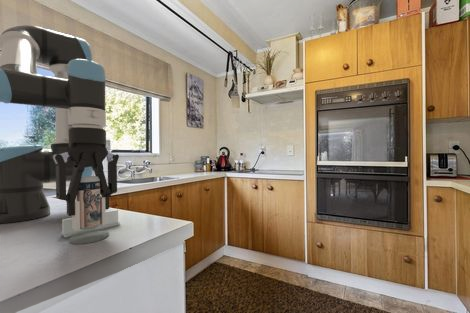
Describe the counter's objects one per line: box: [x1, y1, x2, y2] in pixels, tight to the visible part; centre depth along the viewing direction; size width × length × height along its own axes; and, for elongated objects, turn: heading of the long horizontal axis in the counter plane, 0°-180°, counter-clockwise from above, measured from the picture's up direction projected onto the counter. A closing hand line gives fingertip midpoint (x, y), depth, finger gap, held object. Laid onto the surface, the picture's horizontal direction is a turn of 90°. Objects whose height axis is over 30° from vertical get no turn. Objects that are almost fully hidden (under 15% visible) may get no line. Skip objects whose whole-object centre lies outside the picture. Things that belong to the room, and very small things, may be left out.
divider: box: [60, 209, 121, 238], centre depth 62 cm, size 3×13×4 cm, turn 142°
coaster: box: [68, 230, 109, 245], centre depth 55 cm, size 8×8×1 cm
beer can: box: [76, 175, 101, 230], centre depth 55 cm, size 5×5×12 cm
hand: (89, 225), depth 55 cm, fingers closed on beer can, 5 cm apart
